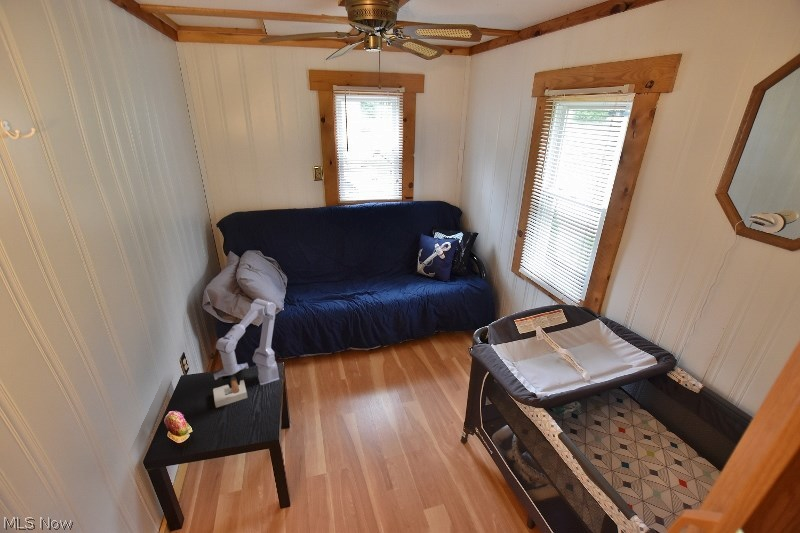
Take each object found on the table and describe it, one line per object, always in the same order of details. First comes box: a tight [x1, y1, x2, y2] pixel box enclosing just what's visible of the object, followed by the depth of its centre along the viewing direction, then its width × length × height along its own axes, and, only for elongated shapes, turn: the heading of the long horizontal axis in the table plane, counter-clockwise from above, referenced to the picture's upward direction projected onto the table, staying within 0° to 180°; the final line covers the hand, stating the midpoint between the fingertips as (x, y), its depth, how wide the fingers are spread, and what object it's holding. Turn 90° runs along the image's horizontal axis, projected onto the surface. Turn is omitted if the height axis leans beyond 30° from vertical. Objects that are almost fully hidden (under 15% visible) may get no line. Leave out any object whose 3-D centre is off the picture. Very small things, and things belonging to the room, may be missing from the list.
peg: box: [228, 373, 239, 393], centre depth 171 cm, size 3×3×9 cm
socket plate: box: [212, 379, 248, 409], centre depth 179 cm, size 14×10×4 cm
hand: (234, 385), depth 172 cm, fingers closed on peg, 3 cm apart
